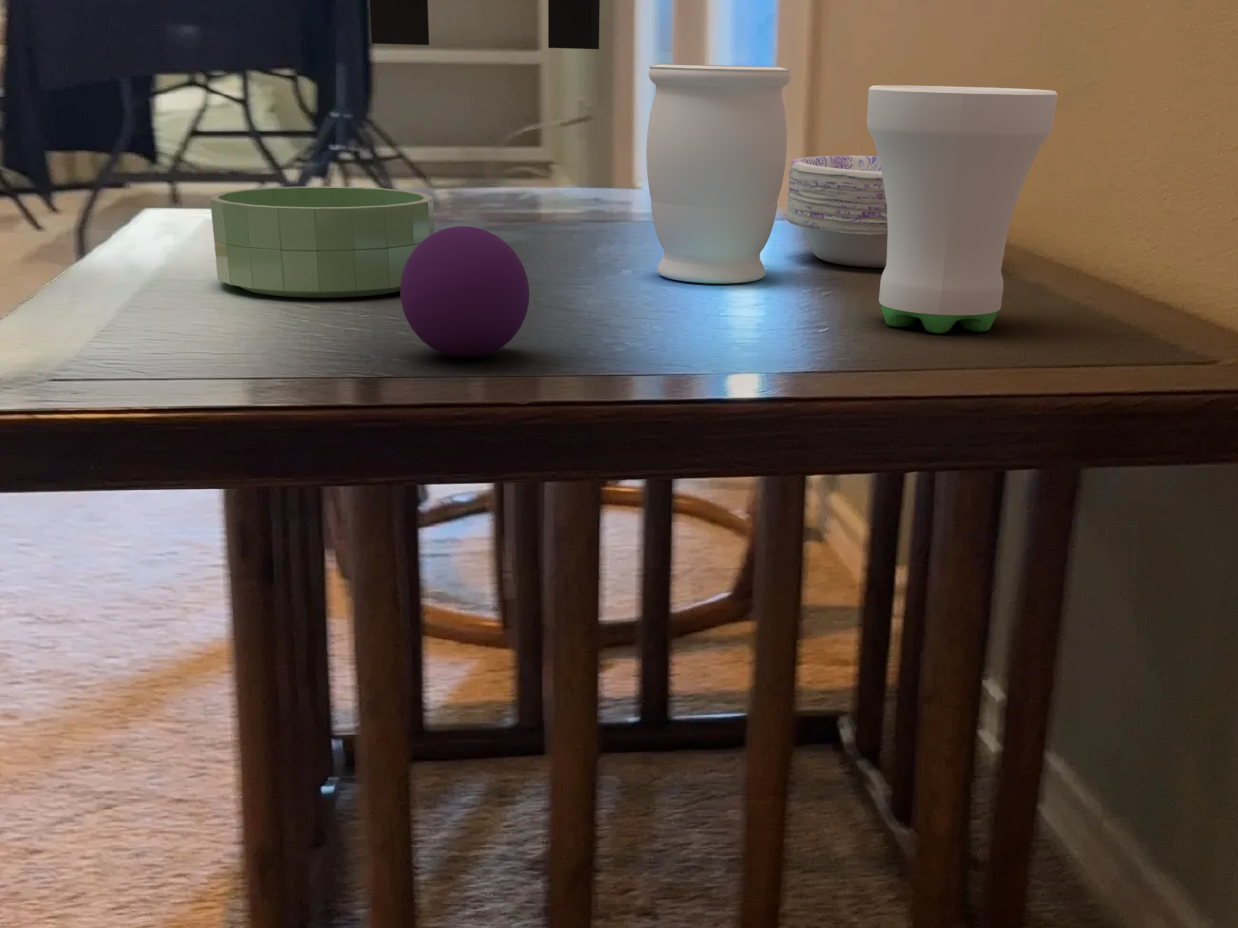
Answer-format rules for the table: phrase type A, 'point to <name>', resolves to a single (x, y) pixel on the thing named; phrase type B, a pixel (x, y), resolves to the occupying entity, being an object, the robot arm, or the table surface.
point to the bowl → (318, 239)
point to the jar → (715, 168)
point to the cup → (951, 195)
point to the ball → (464, 292)
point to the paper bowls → (840, 208)
